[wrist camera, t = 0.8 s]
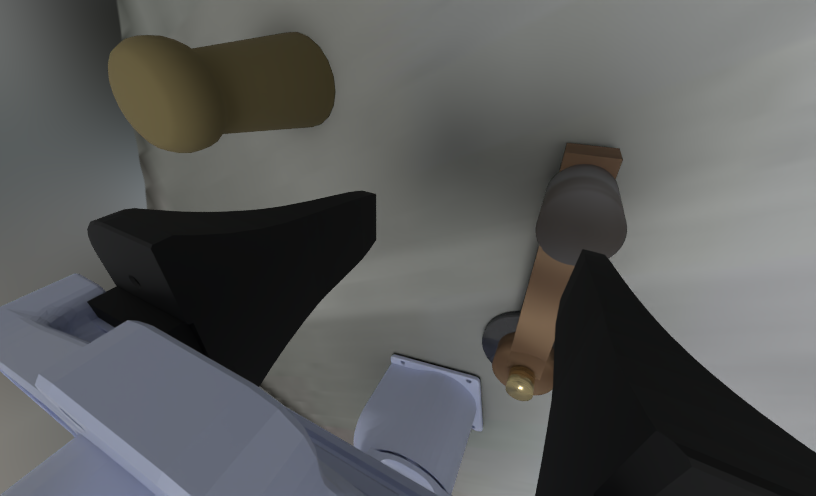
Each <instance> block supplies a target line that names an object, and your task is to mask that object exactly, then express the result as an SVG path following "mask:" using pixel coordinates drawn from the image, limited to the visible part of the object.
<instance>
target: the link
mask: <svg viewBox="0 0 816 496" xmlns="http://www.w3.org/2000/svg"><path fill="white" fill-rule="evenodd" d="M622 161H623V158H622V155H621V152H620V149H618V148H609V147H600V146H591V145H582V144H573V143H567V145H566V149H565V152H564V156H563V160H562V163H561V167H560V171H559V173H557V174H556V175H555V176H554V177H553V178H552V180H551V181H550V182H549V184H548V186H547V189H546V192H545V196H544V199H543V203H542V206H541V210H540V213H539V217H538V220H537V224H536V237H537V241H538V243H539V247H538V251H537V255H536V258H535V262H534V265H533V269H532V273H531V276H530V280H529V284H528V287H527V291H526V295H525V298H524V302H523V306H522V309H521V313H520V317H519V320H518V324H517V327H516V331H515V332H513V333H509V334H506V335H505V336H503V337H502V338H501V339H500V341H499V343H498V346H497V350H496V353H495V356H494V360H493V363H492V368H493V372H494V374H495V376H496V377H497V378H498V380H499V381H500V382H501V383H503V384H504V385H505V386H506V384H507V380H508V375H509V371H510V369H511V368H512V367H513V366H523V367H526V368H528V369H530V370H531V371H532V372H533V373H534V374H535V384H534V391H533V395H542V394H545V393H548V392H549V391H551V390H552V389H553V369H554V348H553V347H552V346H553V343H554V341H555V324H556V319H557V313H558V308H559V303H560V298H561V296H562V294H563V292H564V289H565V287H566V285H567V283H568V280H569V278H570V276H571V274H572V271H573V269H574V267H575V265H576V262H577V260H578V258H579V256H580V253H581V251H582V249H585V250H589V251H593V252H597V253H601V254H604V255H606V257H607V258H610V257H611V256H613V255H614V254H615V253H616V252H617V251H618V250H619V249H620V248H621V246H622V245H623V243H624V241H625V238H626V234H627V224H626V219H625V215H624V210H623V206H622V202H621V197H620V193H619V188H618V185H617V182H616V180H615V179H616V176H617V174H618V171H619V169H620V166H621V163H622Z"/></svg>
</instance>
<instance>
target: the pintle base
mask: <svg viewBox="0 0 816 496" xmlns="http://www.w3.org/2000/svg"><path fill="white" fill-rule="evenodd" d="M520 313H521V312H508V313H504V314H501V315H499V316H497V317H495V318H494V319H492V320H491V321H490V322H489V323H488V325H487V327H486V329H485V332H484V334H483V338H482V345H483V349H484V352H485V354H486V356H487V358H488V359H489V360H490V362H491V363H493V360H494V356H495V353H496V350H497V346H498V343H499V341H500V339H501V338H502V337H503V336H505V335H506V334H509V333H513V332H515V331H516V327H517V324H518V320H519V317H520ZM554 343H555V341H554ZM554 343H553V346H552V347H553V348H554ZM534 384H535V374H534V373H533V372H532V371H531V370H530V369H528V368H526V367H523V366H513V367H512V368H511V369H510V371H509V375H508V380H507V384H506V391H507V393H508V394H509V395H510V396H511V397H513V398H514V399H517V400H520V401H528V400H530V399H532V397H533V391H534Z"/></svg>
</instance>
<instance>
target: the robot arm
mask: <svg viewBox="0 0 816 496" xmlns="http://www.w3.org/2000/svg"><path fill="white" fill-rule="evenodd" d="M87 230H88V236H89V239H90V241H91V244H92V246H93V248H94V250H95V252H96V253H97V255H98V256H99V258H100V260H101V262H102V263H103V265H104V266H105V268H106V270H107V271H108V273H109V274H110V276H111V278H112V279H113V281H114V283H115V284H116V286H117V287H115V288H113V289H111V290H109V291H107V292H106V291H105V290H104V289H103V288H102V287H101V286H99V285H98V284H97V283H95V282H93V281H91V280H89V279H88V278H86V277H84V276H82V275H80V274H76V273H75V274H72V275H70V276H67V277H65V278H63V279H61V280H59V281H56V282H54V283H52V284H50V285H47V286H45V287H43V288H41V289H38V290H36V291H34V292H32V293H30V294H27V295H25V296H23V297H21V298H18V299H16V300H14V301H12V302H9V303H7V304H5V305H3V306H1V307H0V371H1V372H2V373H3V374H4V375H5V376H6V377H7V378H8V379H9V380H11V381H12V382H13V383H14V384H15V385H16V386H17V387H18V388H20V389H21V390H22V391H23V392H24V393H25V394H27V395H28V396H29V397H30V398H31V399H32V400H33V401H34V402H36V403H37V404H38V405H39V406H40V407H41V408H43V409H44V410H45V411H46V412H47V413H48V414H49V415H51V416H52V417H53V418H54V419H55V420H56V421H57V422H59V423H60V424H61V425H62V426H63V427H64V428H65V429H67V430H68V431H69V432H70V433H71V434H72V435H74V436H75V438H73V439H72V440H71V441H70V442H68V443H67V444H66V445H65V446H63V447H62V448H61V449H59V450H58V451H57V452H55V453H54V454H53V455H51V456H50V457H49V458H47V459H46V460H45V461H44V462H42V463H41V464H40V465H38V466H37V467H36V468H34V469H33V470H32V471H31V472H29V473H28V474H27V475H25V476H24V477H23V478H21V479H20V480H19V481H17V482H16V483H15V484H14V485H12V486H11V487H10V488H8V489H7V490H6V491H4V492H3V493H2V494H1V495H0V496H452V495H451V494H452V490H453V487H454V484H455V480H456V477H457V474H458V471H459V467H460V464H461V461H462V457H463V454H464V451H465V447H466V444H467V441H468V438H469V434H470V431H471V429H473V430H476V431H482V429H483V418H482V402H481V385H480V379H479V378H478V377H476V376H472V375H469V374H465V373H461V372H458V371H454V370H450V369H447V368H443V367H439V366H436V365H432V364H428V363H425V362H421V361H417V360H414V359H410V358H406V357H403V356H399V355H396V354H393V355H392V356H391V365H390V366H389V368H388V370H387V371H386V373H385V374H384V376H383V378H382V379H381V381H380V382H379V384H378V386H377V387H376V389H375V391H374V392H373V394H372V395H371V397H370V399H369V400H368V402H367V403H366V405H365V407H364V409H363V410H362V413H361V415H360V417H359V420H358V423H357V426H356V429H355V434H354V446H352V445H351V444H349V443H347V442H345V441H344V440H342V439H340V438H339V437H337V436H335V435H333V434H332V433H330V432H328V431H327V430H325V429H323V428H321V427H320V426H318V425H316V424H314V423H313V422H311V421H309V420H308V419H306V418H304V417H302V416H301V415H299V414H297V413H296V412H294V411H292V410H290V409H289V408H287V407H285V406H283V405H282V404H281V403H280V402H278V401H277V400H275V399H274V398H273V397H271V396H270V395H269V394H267V393H266V392H265V391H263V390H262V389H260V388H259V386H260V384H261V383H262V381H263V380H264V378H265V377H266V375H267V373H268V372H269V370H270V369H271V367H272V366H273V364H274V363H275V361H276V360H277V358H278V357H279V355H280V354H281V352H282V351H283V350H284V348H285V347H286V345H287V344H288V342H289V341H290V340H291V338H292V337H293V336H294V334H295V333H296V332H297V330H298V329H299V328H300V326H301V325H302V324H303V322H304V321H305V320H306V318H307V317H308V316H309V315H310V313H311V312H312V311H313V310H314V308H315V307H316V306H317V305H318V303H319V302H320V301H321V300H322V299H323V298H324V297H325V296H326V295H327V294H328V293H329V292H330V291H331V290H332V289H333V288H334V287H335V286H336V285H337V284H338V283H339V282H340V281H341V280H342V279H343V278H344V277H345V276H346V275H347V274H348V273H349V272H350V271H351V270H352V269H353V268H354V267H355V266H356V265H357V264H358V263H359V262H360V261H361V260H362V259H363V258H364V256H365V255H366V254H367V252H368V251H369V250H370V248H371V247H372V245H373V244H374V242H375V241H376V194H373V193H369V192H365V191H354V192H348V193H343V194H338V195H334V196H329V197H325V198H321V199H316V200H312V201H307V202H302V203H297V204H291V205H286V206H280V207H274V208H266V209H257V210H246V211H228V212H179V211H163V210H149V209H137V208H132V209H125V210H121V211H118V212H116V213H113V214H110V215H107V216H105V217H102V218H99V219H97V220H94V221H91V222H90V224H89V226H88V229H87ZM535 496H816V453H815V452H814V451H812V450H811V449H809V448H808V447H807V446H805V445H804V444H802V443H801V442H799V441H798V440H797V439H795V438H794V437H793V436H791V435H790V434H789V433H787V432H786V431H784V430H783V429H782V428H780V427H779V426H778V425H776V424H775V423H773V422H772V421H771V420H769V419H768V418H767V417H765V416H764V415H763V414H761V413H760V412H759V411H757V410H756V409H755V408H753V407H752V406H751V405H750V404H748V403H747V402H746V401H744V400H743V399H742V398H741V397H739V396H738V395H737V394H735V393H734V392H733V391H732V390H731V389H729V388H728V387H727V386H726V385H725V384H723V383H722V382H721V381H720V380H719V379H717V378H716V377H715V376H714V375H713V374H711V373H710V372H709V371H708V370H707V369H706V368H704V367H703V366H702V365H701V364H700V363H699V362H698V361H697V360H695V359H694V358H693V357H692V356H691V355H690V354H689V353H688V352H687V351H686V350H685V349H684V348H683V347H682V346H681V345H680V344H679V343H678V342H677V341H676V340H675V339H673V338H672V337H671V336H670V335H669V333H668V332H667V331H666V330H665V329H664V328H663V327H662V326H661V325H660V324H659V323H658V322H657V321H656V319H655V318H654V317H653V316H652V315H651V314H650V313H649V311H648V310H647V309H646V308H645V307H644V306H643V304H642V303H641V302H640V301H639V300H638V298H637V297H636V296H635V294H634V293H633V292H632V291H631V289H630V288H629V287H628V285H627V284H626V283H625V281H624V280H623V279H622V277H621V276H620V274H619V273H618V272H617V270H616V269H615V267H614V266H613V265H612V263H611V262H610V260H609V259H608V258H607V257H606V255H604V254H601V253H597V252H593V251H589V250H585V249H582V251H581V253H580V256H579V258H578V260H577V262H576V265H575V267H574V269H573V271H572V274H571V276H570V278H569V280H568V283H567V285H566V287H565V289H564V292H563V294H562V296H561V298H560V303H559V308H558V313H557V319H556V324H555V343H554V369H553V391H552V401H551V408H550V414H549V421H548V427H547V433H546V439H545V445H544V451H543V456H542V462H541V468H540V473H539V479H538V484H537V489H536V494H535Z"/></svg>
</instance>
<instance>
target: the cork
mask: <svg viewBox="0 0 816 496" xmlns="http://www.w3.org/2000/svg"><path fill="white" fill-rule="evenodd" d="M108 71H109V72H108V73H109V81H110V85H111V88H112V92H113V94H114V97H115V99H116V101H117V103H118V105H119V107H120V109H121V111H122V112H123V114H124V116H125V117H126V119H127V120H128V121H129V123H130V124H131V125H132V126H133V128H134V129H135V130H136V131H137V132H138V133H139V134H140V135H141V136H143V137H144V138H145V139H146V140H147V141H148V142H149V143H151V144H153V145H154V146H156V147H158V148H160V149H164V150H167V151H172V152H177V153H192V152H196V151H199V150H202V149H205V148H207V147H210V146H211V145H213V144H214V143H216V142H218V140H219V139H220V137H221V136H222V134H228V133H241V132H254V131H267V130H280V129H292V128H305V127H314V126H317V125H319V124H322V123H323V122H324V121H325V120H326V119H327V118H328V117H329V115H330V112H331V110H332V108H333V106H334V98H335V85H334V76H333V73H332V70H331V68H330V65H329V62H328V60H327V58H326V57H325V55H324V53H323V52H322V50H321V49H320V47H319V46H318V45H317V44H316V43H315V42H314V41H313V40H311V39H310V38H309V37H307V36H305V35H303V34H300V33H298V32H289V33H281V34H275V35H269V36H264V37H258V38H252V39H246V40H240V41H234V42H228V43H222V44H216V45H210V46H205V47H199V48H193V49H191V48H190V47H188V46H187V45H185V44H183V43H181V42H178V41H176V40H174V39H170V38H167V37H164V36H154V35H141V36H134V37H130V38H126V39H124V40H123V41H122V42H121V43H120V44H118V45H117V46H116V47H115V48H114V49H113V50H112V51H111V52H110V56H109V61H108Z"/></svg>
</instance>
